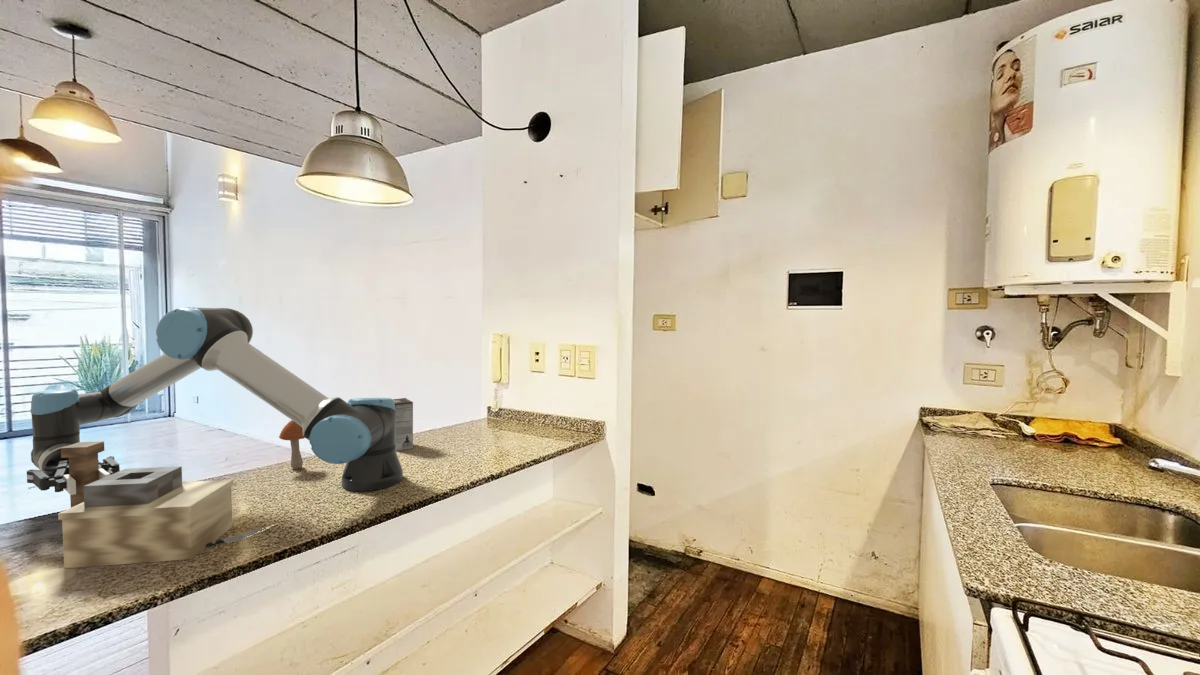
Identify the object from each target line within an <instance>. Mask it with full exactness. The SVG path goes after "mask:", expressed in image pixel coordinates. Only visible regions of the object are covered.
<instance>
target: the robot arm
mask: <svg viewBox="0 0 1200 675" xmlns="http://www.w3.org/2000/svg"><path fill="white" fill-rule="evenodd" d="M253 331H254V328H253V325H252V323H251V321H250V319H249V318H248V317H247V316H246V315H245V314H244V313H242V312H240V311H238V310H236V309H232V308H228V307H216V308H215V307H211V308H210V307H194V306H193V307H192V306H187V307H180V308H176V309H173V310H172V309H171V310H169V311H168V312H166V313H165V314H164V315H163V316H162V317H161V318H160V320H159V322H158V324H157V327H156V330H155V335H156V344H157V346H158V347H159V349H160V350H161V351H162V352H163V354H162V355H160V356H158V357H156V358H154V359H153V360H151V361H149V362H148V363H145V364H144V365H142V366H141V367H139V368H137V369H135V370H133V371H132V372H130V373H128V374H127V375H125V376H123V377H120V378H118V380H116V381H114V382H113V383H111V384H109V385H108V386H106V387H104V388H102V389H100V390H97V391H91V392H86V393H80V394H79V393H78V390H77V389H74V388H60V389H59V388H57V389H56V388H55V389H49V390H48V389H47V390H40V391H37V392H35V393H33V394H32V396H31V402H30V410H29V412H30V415H31V424H32V425H31V426H32V428H31V429H32V450H31V452H30V460H31V463H32V464H33V465H34V467H36V468H37V469H28V470H26V483H27V484H33V485H34V486H36V487H37V488H38V489H39V490H40V491H48V490H50V488H52V487H53V488H54V492H55V493H60V492H63V491H64V490H65V491H66V492H67V493H68V494H69V496H70V495H74V494H76V481H75V480H74V479H73V478H72V477H71V476H70V475H69V457H68V458H61V448H62V447H66V446H69V445H72V444H75V443H79V442H81V438H80V437H81V436H80V432H81V431H80V430H81V428H80V427H81V425H86V424H90V423H91V424H92V423H94V422H101V421H105V420H108V419H115V418H120V417H122V416H124V415H129V414H131V413H133V412H134V411H135V410H136V409H137V407H138V405H139V404H140V403H142V402H143V401H145V400H147V399H149V398H151V397H152V396H154V395H156V394H158V393H160V392H161V391H163V390H165V389H167V388H169V387H170V386H172V385H174V384H175V383H177V382H179V381H180V380H182V379H184V378H186V377H188V376H190V375H191V374H193V373H195V372H196V371H198V370H200V369H204V370H205V371H208V372H209V371H210V372H212V371H219V372H221V373H222V374H224V375H225V376H227V377H228V378H229V379H231V380H232V381H234V382H235V383H236V384H238V385H240V386H241V387H243V388H244V389H246V391H249V392H250V393H251V394H253V395H254V396H256V397H257V398H258V399H260V400H262V401H264V402H265V403H266V404H268V405H269V406H271V407H272V408H274V409H275V410H277V411H278V412H279V413H281V414H282V415H283V416H286V417H287V418H288V419H289V420H290V421H291V420H293V421H294V422H296V423H297V424H298V425H300V426H301V427H302V429H303V436H304V437H305V438H304V439H307V440H308V441H309V444H310V446H311V448H310V449H311V451H312V453H313V454H314V455H315V456H316V457H317V459H319V460H321V461H323V462H325V463H329V464H333V465H341V464H345V466H344V469H343V472H342V475H341V487H342V488H343V489H345V490H349V491H353V492H355V491H357V492H358V491H359V492H365V491H376V490H381V489H385V488H388V487H392V486H394V485H398V484H399V483H400V482H401V481H403V478H404V477H403V474H404V473H403V472H404V471H403V468H402V465H401V462H400V459H399V458H398V454H397V451H396V448H395V412H396V409H395V402H394V400H393V399H394V398H393V399H392V398H390V397H358V398H357V397H356V398H350V399H349V400H348V401H345V400H344V399H342V398H341V397H338V396H337V397H331V398H330V397H328V396H326V395H325V394H323V393H321V392H320V391H319V390H317V389H316V388H315V387H313V386H311V384H308V383H307V382H306V381H304V380H303V379H301V377H298V375H296V374H294V373H293V372H291V371H290V370H288V369H287V368H285V367H284V366H282V365H281V364H279V363H278V362H276V361H275V360H273V359H272V358H271V357H270V356H268V355H267V354H265V353H264V352H262V351H260V350H259V349H258V348H256V346H253V345H252V344H251V343H250V342H251V340H252V338H253V334H254V332H253ZM98 466H99V470H98V472H99V480H100V479H102V478H104V477H107V476H109V475H112V474H114V473H116V472H119V471H121V469H120V464H119V462H117V461H116V460H115V456H114V455H113V456H112V455H110V456H108V457H105V458H102V460H99V459H98Z"/></svg>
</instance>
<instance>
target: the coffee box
mask: <svg viewBox="0 0 1200 675" xmlns="http://www.w3.org/2000/svg"><path fill="white" fill-rule="evenodd" d="M393 400H394V402H395V409H396V412H395V448H396V452H397V451H404V450H410V448H411V449H414V438H413V437H414V401H411V400H409V399H408V398H406V397H403V398H402V397H401V398H393ZM403 449H404V450H403Z"/></svg>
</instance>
